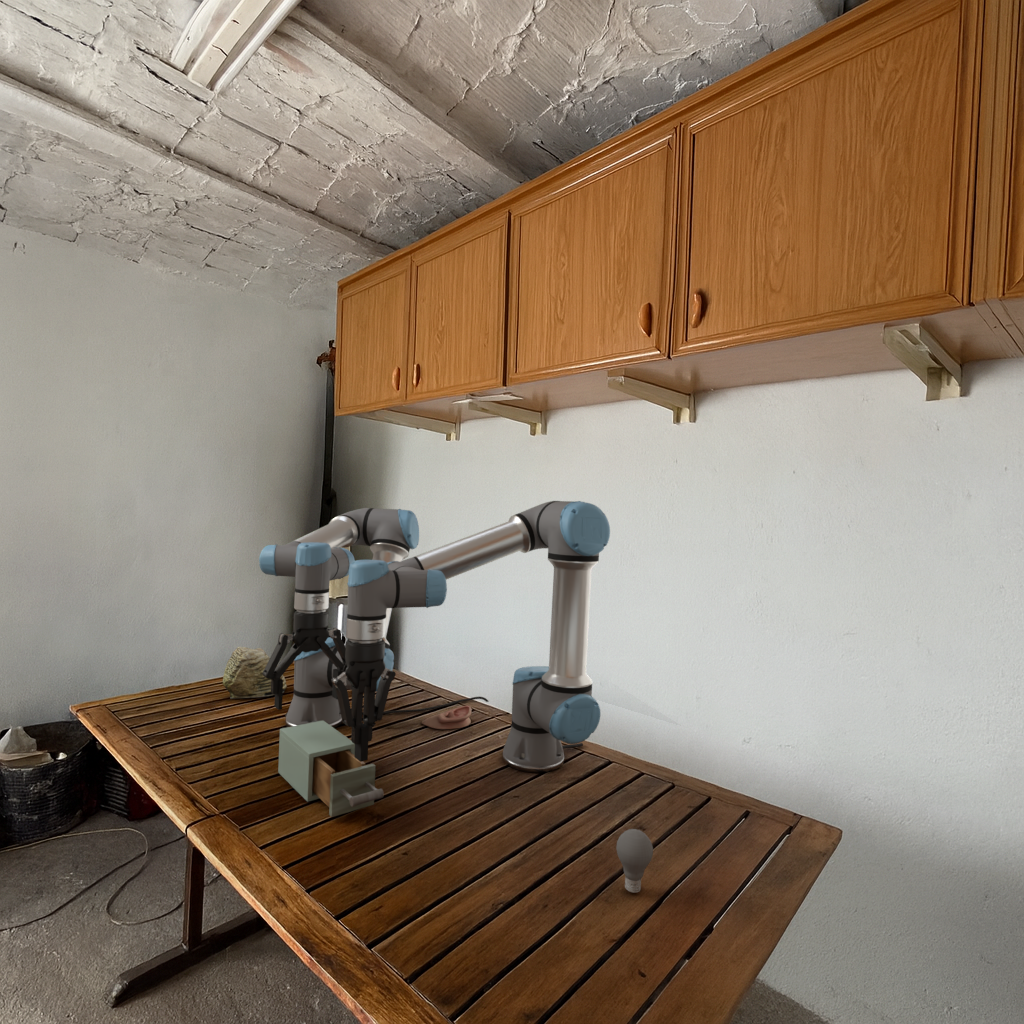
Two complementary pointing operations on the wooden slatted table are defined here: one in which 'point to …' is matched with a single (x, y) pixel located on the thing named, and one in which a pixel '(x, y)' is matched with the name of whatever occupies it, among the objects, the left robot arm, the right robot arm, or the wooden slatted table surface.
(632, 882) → the light bulb
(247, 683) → the fossil
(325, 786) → the drawer
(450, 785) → the wooden slatted table surface
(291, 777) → the cabinet
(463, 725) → the anatomical model
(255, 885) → the wooden slatted table surface
